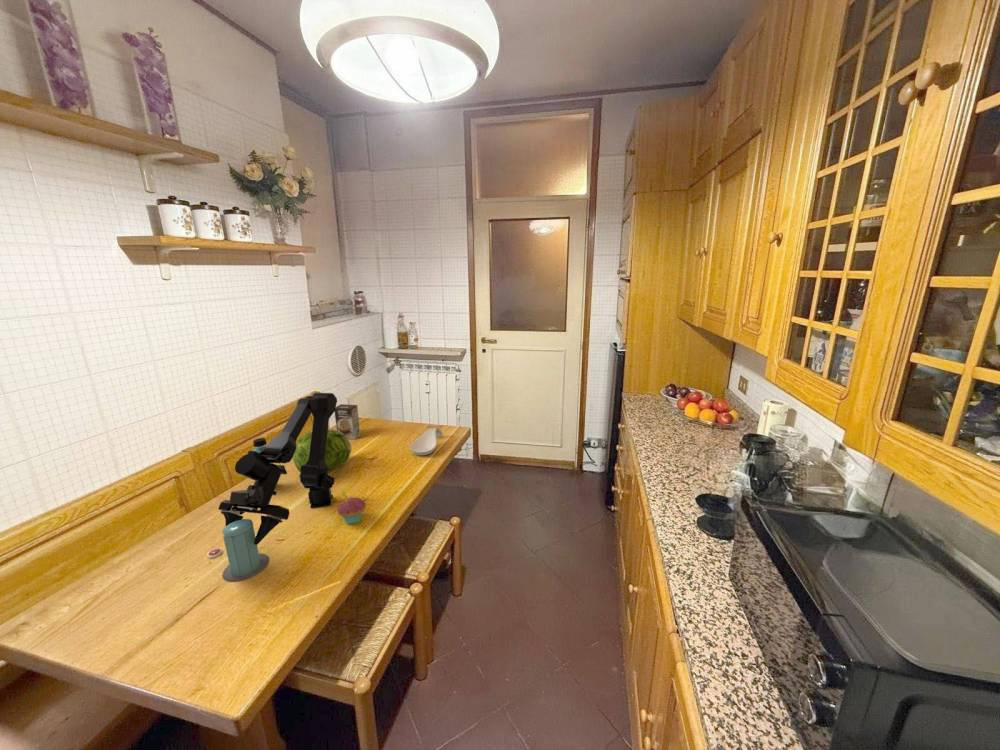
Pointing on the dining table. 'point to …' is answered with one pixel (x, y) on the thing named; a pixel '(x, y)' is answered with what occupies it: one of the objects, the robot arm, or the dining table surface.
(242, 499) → the robot arm
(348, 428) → the coffee box
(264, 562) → the disc
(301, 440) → the lettuce
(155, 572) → the dining table surface
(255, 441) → the beverage bottle
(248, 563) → the blue-grey tall faceted cylinder
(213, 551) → the dip bowl
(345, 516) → the cupcake
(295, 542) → the dining table surface
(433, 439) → the spoon rest
